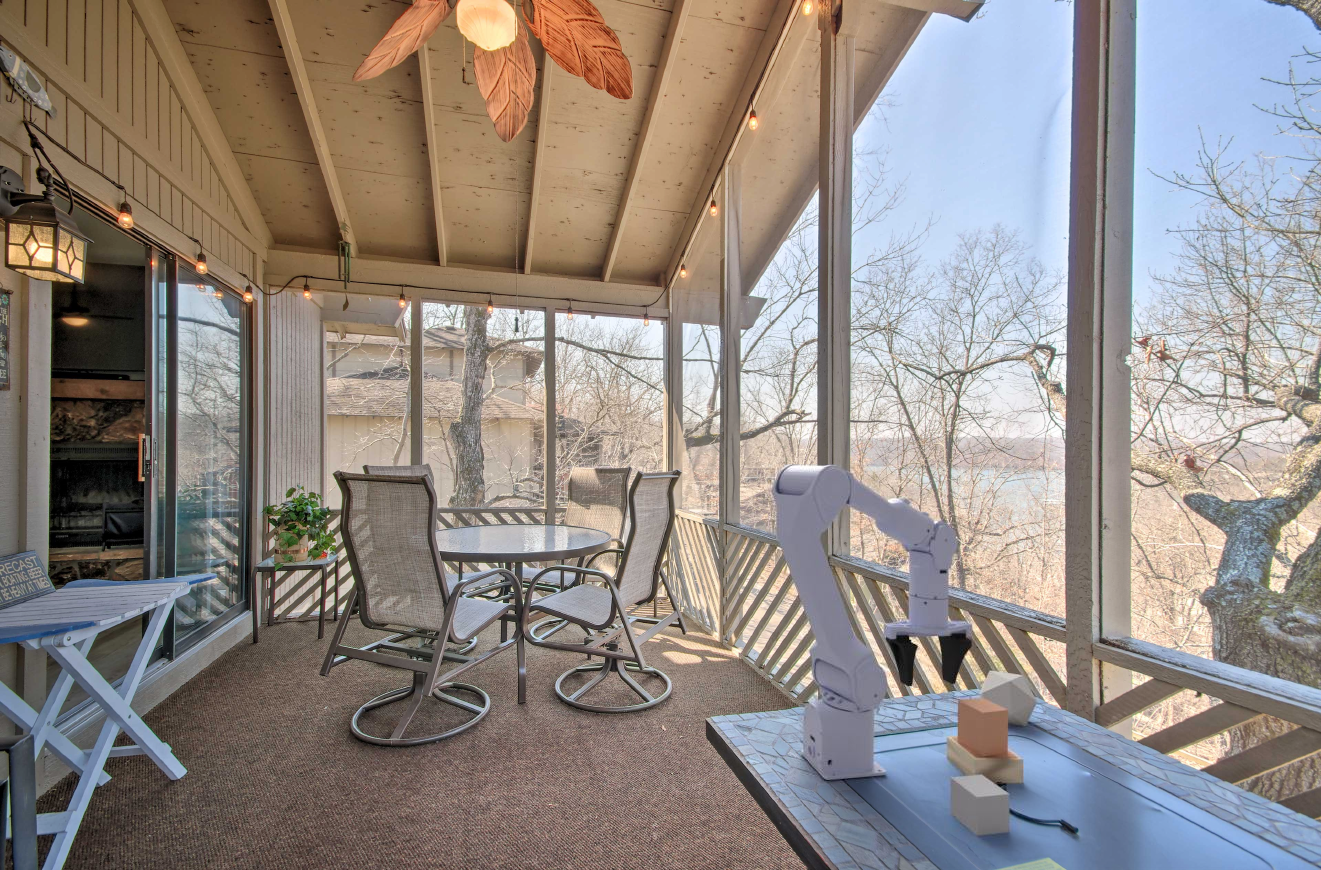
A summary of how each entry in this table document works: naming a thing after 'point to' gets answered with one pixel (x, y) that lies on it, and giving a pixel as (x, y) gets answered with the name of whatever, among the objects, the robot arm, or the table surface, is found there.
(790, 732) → the table surface
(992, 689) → the die
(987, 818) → the grey block
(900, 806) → the table surface
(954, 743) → the maple base
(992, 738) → the terracotta block
